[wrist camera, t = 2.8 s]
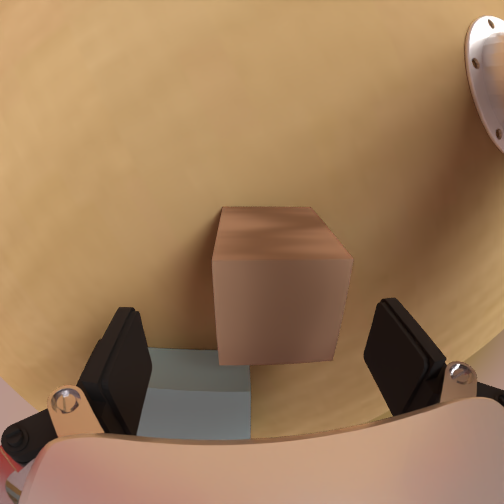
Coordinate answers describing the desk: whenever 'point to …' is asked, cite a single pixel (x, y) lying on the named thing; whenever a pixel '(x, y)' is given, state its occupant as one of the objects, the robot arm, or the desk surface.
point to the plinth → (196, 397)
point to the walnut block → (277, 286)
